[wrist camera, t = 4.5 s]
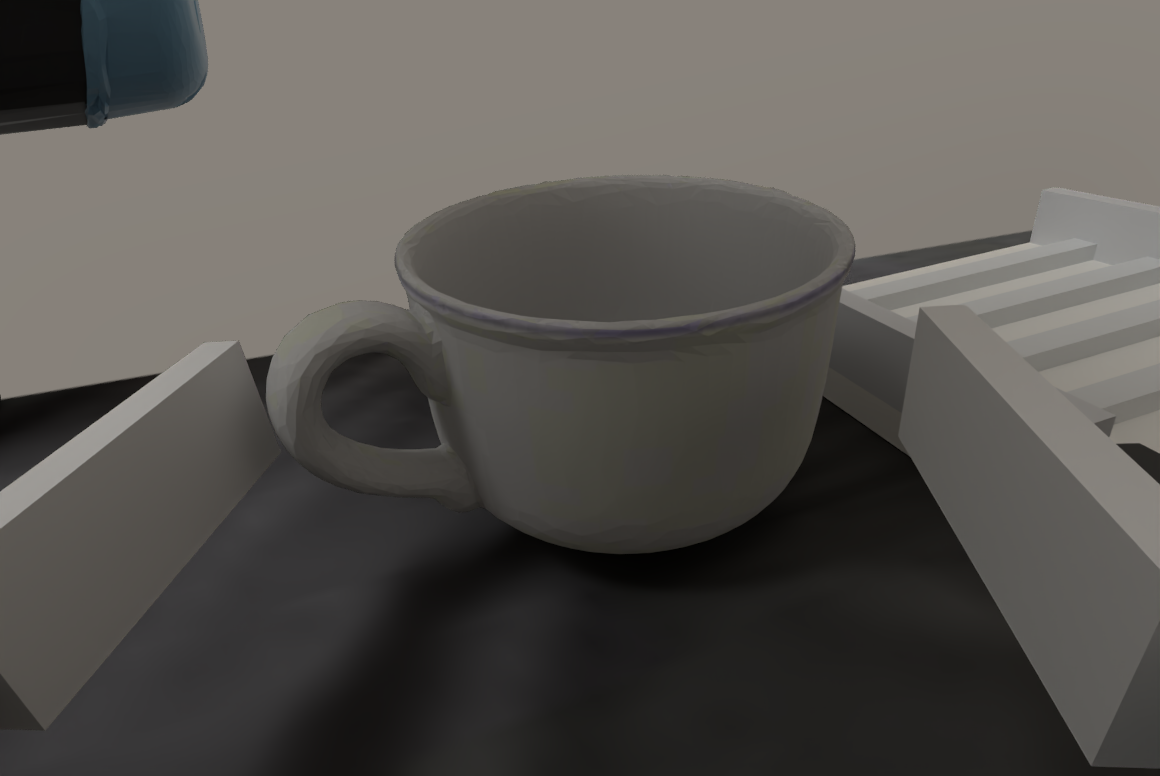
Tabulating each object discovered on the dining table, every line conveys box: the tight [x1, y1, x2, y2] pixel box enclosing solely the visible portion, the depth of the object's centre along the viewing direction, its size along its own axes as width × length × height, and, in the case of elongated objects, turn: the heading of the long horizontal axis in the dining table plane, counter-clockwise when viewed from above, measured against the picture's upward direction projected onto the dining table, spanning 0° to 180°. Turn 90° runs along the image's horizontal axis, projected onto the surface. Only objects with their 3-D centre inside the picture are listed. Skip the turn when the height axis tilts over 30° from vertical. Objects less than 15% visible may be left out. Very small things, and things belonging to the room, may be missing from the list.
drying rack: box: [823, 187, 1160, 456], centre depth 23 cm, size 16×14×4 cm
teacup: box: [266, 175, 855, 554], centre depth 17 cm, size 14×11×8 cm
